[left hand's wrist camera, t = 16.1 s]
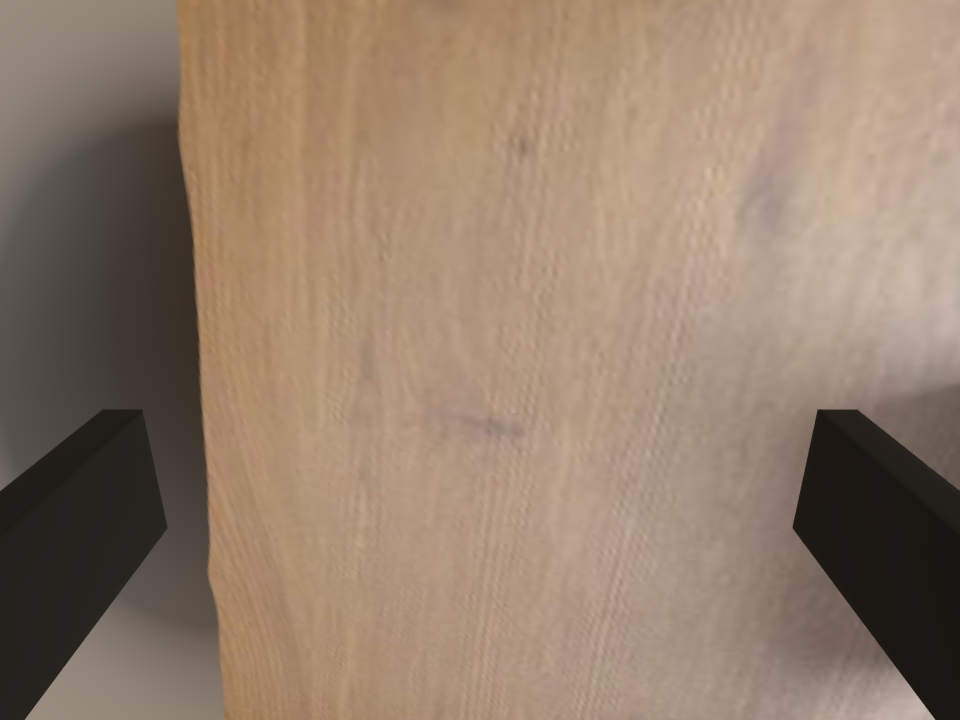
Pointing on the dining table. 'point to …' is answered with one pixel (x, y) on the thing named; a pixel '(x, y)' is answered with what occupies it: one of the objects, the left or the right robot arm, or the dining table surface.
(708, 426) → the dining table surface
